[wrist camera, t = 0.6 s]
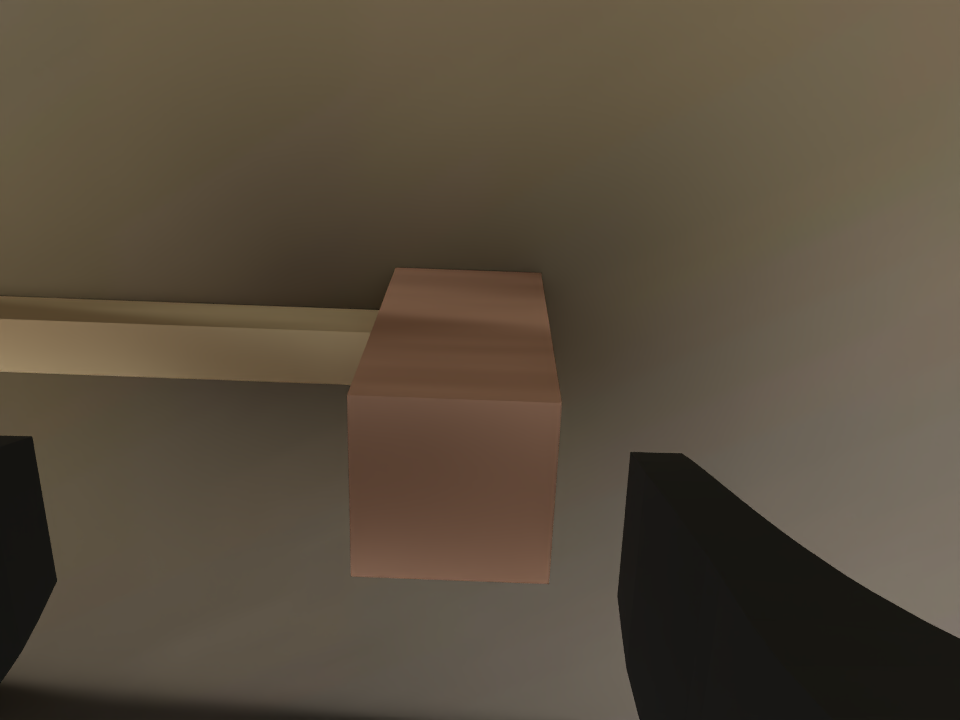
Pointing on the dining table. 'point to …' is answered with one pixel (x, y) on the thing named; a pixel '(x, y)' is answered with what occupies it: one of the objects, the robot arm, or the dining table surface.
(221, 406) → the dining table surface
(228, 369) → the push blade
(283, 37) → the dining table surface
